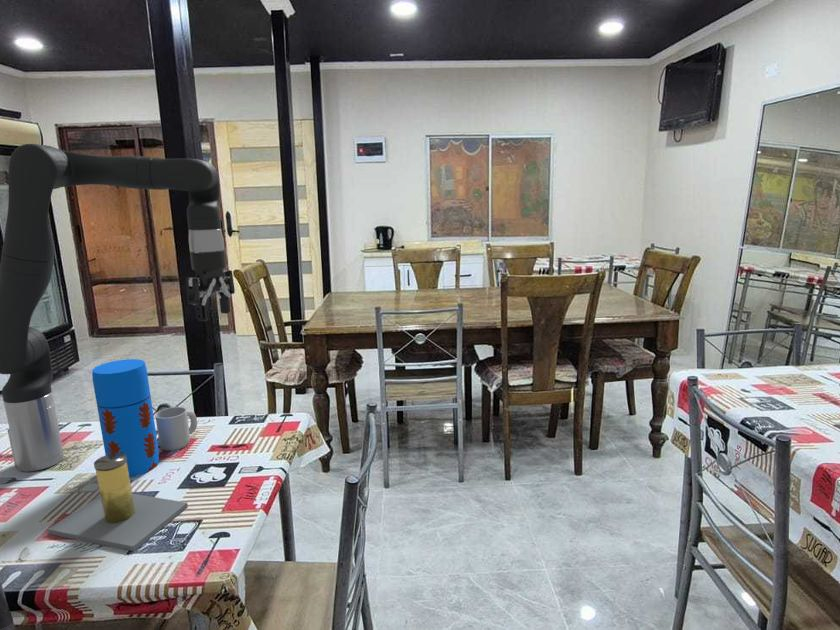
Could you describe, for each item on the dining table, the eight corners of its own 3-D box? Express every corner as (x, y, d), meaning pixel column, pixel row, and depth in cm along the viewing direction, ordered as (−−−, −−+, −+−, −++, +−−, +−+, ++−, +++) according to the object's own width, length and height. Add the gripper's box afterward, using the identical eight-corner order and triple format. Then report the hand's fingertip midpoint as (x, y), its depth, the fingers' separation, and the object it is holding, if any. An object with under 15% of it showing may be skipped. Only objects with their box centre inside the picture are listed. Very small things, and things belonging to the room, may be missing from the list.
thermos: (138, 480, 117) (121, 375, 111) (97, 476, 119) (79, 373, 113) (170, 457, 127) (156, 359, 122) (132, 453, 129) (116, 357, 124)
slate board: (48, 533, 99) (47, 529, 98) (109, 493, 112) (109, 489, 111) (134, 551, 93) (133, 546, 93) (187, 507, 106) (187, 502, 106)
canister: (97, 521, 101) (86, 465, 98) (120, 505, 106) (110, 451, 103) (119, 525, 99) (109, 468, 96) (142, 509, 104) (132, 454, 101)
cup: (154, 446, 133) (149, 413, 131) (191, 432, 141) (187, 401, 139) (168, 454, 129) (164, 420, 127) (206, 439, 136) (202, 407, 134)
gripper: (213, 246, 128) (219, 310, 132) (171, 252, 115) (180, 323, 118) (239, 246, 126) (245, 311, 130) (200, 252, 113) (208, 324, 116)
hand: (214, 316), depth 124 cm, fingers open, 8 cm apart
